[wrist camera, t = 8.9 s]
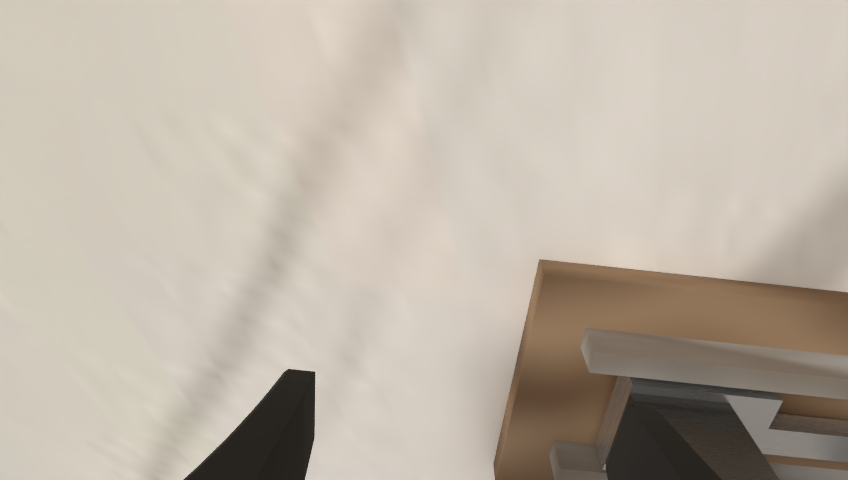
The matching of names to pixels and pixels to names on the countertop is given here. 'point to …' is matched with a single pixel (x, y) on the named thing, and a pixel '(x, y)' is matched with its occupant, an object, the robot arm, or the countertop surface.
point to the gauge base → (664, 358)
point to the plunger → (726, 426)
